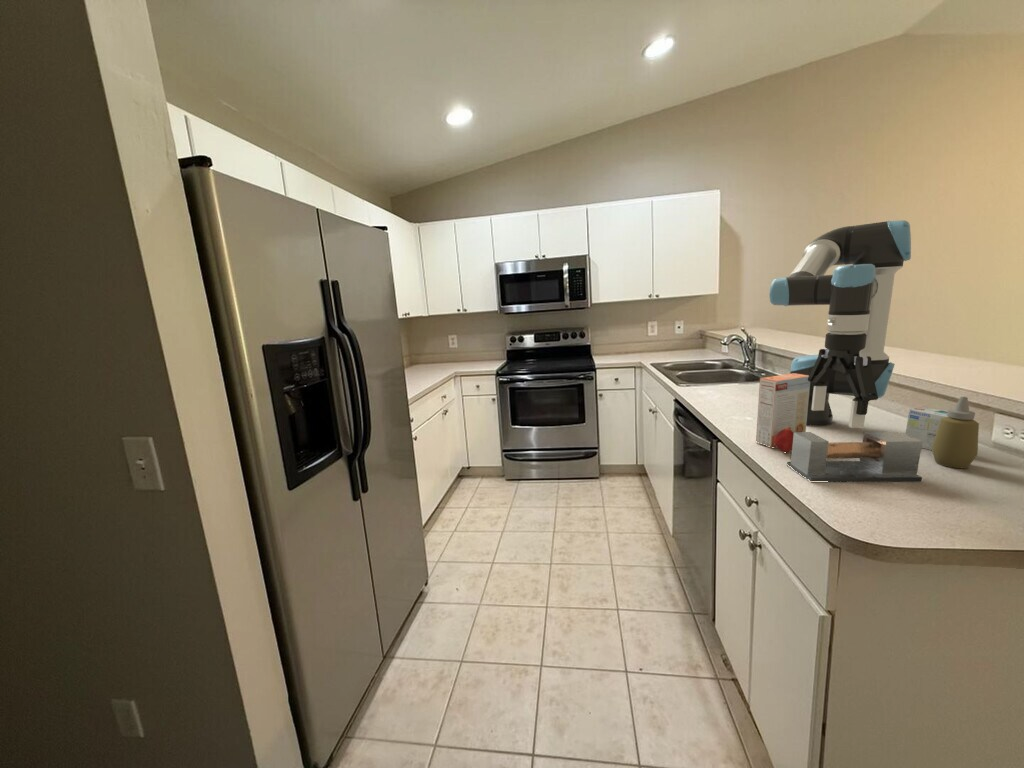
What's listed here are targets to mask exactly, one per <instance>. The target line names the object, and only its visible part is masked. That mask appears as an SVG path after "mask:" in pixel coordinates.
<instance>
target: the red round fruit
mask: <svg viewBox="0 0 1024 768" xmlns="http://www.w3.org/2000/svg"><path fill="white" fill-rule="evenodd" d="M793 436H794V432H793V431H791V428H790V427H786V428H785V429H783V430H781V431H779V432H778V433H777V434H776V436H775V438H774V443H775V445H776V448H777V449H778V450H780V452H782V453H784V452H786V453H785V454H789V453H791V452H792V445H793Z"/></svg>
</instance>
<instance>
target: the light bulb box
mask: <svg viewBox="0 0 1024 768" xmlns="http://www.w3.org/2000/svg"><path fill="white" fill-rule="evenodd" d="M947 412H948V410H944V409H937V408H932V407H928V406H921V407H913V408H909V410H908V417H907V422H906V428H905V435H907V436H910V437H913V438H915V439H918V440H921V441H923V442H922V447H921V449H926V450H929V451H932V448H931V447H932V444H933V441H934V438H935V435H936V432H937V429H938V426H939V423H940V420H941V419H942V418H944V417H948V416H947Z"/></svg>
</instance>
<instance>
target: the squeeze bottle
mask: <svg viewBox="0 0 1024 768" xmlns="http://www.w3.org/2000/svg"><path fill="white" fill-rule="evenodd" d="M947 411H948V412H947V416H948V417H944V418H942V419H941V420H940V423H939V426H938V429H937V432H936V435H935V438H934V441H933V444H932V447H931V448H932V450H931V451H932V455H933V458H934V461H935V462H936V463H937V464H939V465H942V466H944V467H949V468H955V469H968V468H969V466H970V465H971V463H973V461H974V460H975V459H976V458H977V456H978V451H979V450H978V449H979V427H980V426H979V425H980V423H978V421H976V420H974V419H975V417H976V412H975V411H973V410H970V406H969V398H968V397H967V396H960V397H959V399H958V401H957V403H956V405H955V407H954V408H949V409H948V410H947Z"/></svg>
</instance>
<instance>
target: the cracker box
mask: <svg viewBox="0 0 1024 768" xmlns="http://www.w3.org/2000/svg"><path fill="white" fill-rule="evenodd" d="M808 377H809V376H808V375H802V374H796V373H792V374H790V373H786V374H780V375H779V374H778V375H773V376H766V377H760V378H759V388H758V402H757V403H758V404H757V419H756V422H757V423H756V431H755V433H756V435H755V442H756V441H757V442H759V443H762V444H765V445H767V446H770V447H776V445H775V443H774V438H775V436H776V434H777V433H778V432H779V431H781V430H783V429H785V428H786V427H790V428H791V431H793V432H807V425H806V423H807V412H808V401H809V390H810V381H808ZM776 448H777V447H776Z"/></svg>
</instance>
